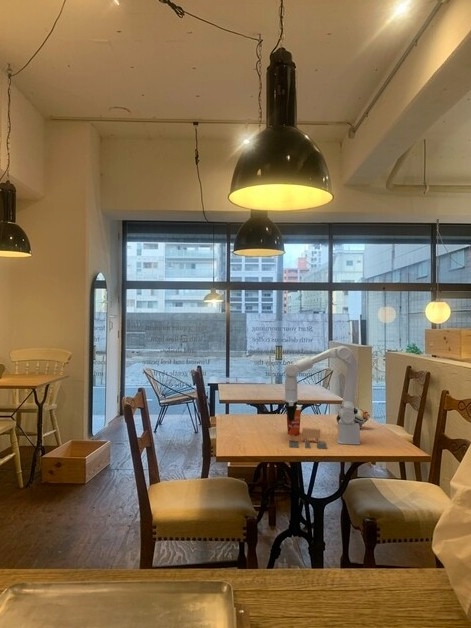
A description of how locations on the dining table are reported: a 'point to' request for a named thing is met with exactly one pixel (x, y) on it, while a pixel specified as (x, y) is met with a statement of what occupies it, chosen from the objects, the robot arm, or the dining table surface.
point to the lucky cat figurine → (358, 416)
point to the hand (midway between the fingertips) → (291, 419)
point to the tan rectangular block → (311, 433)
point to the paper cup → (294, 423)
